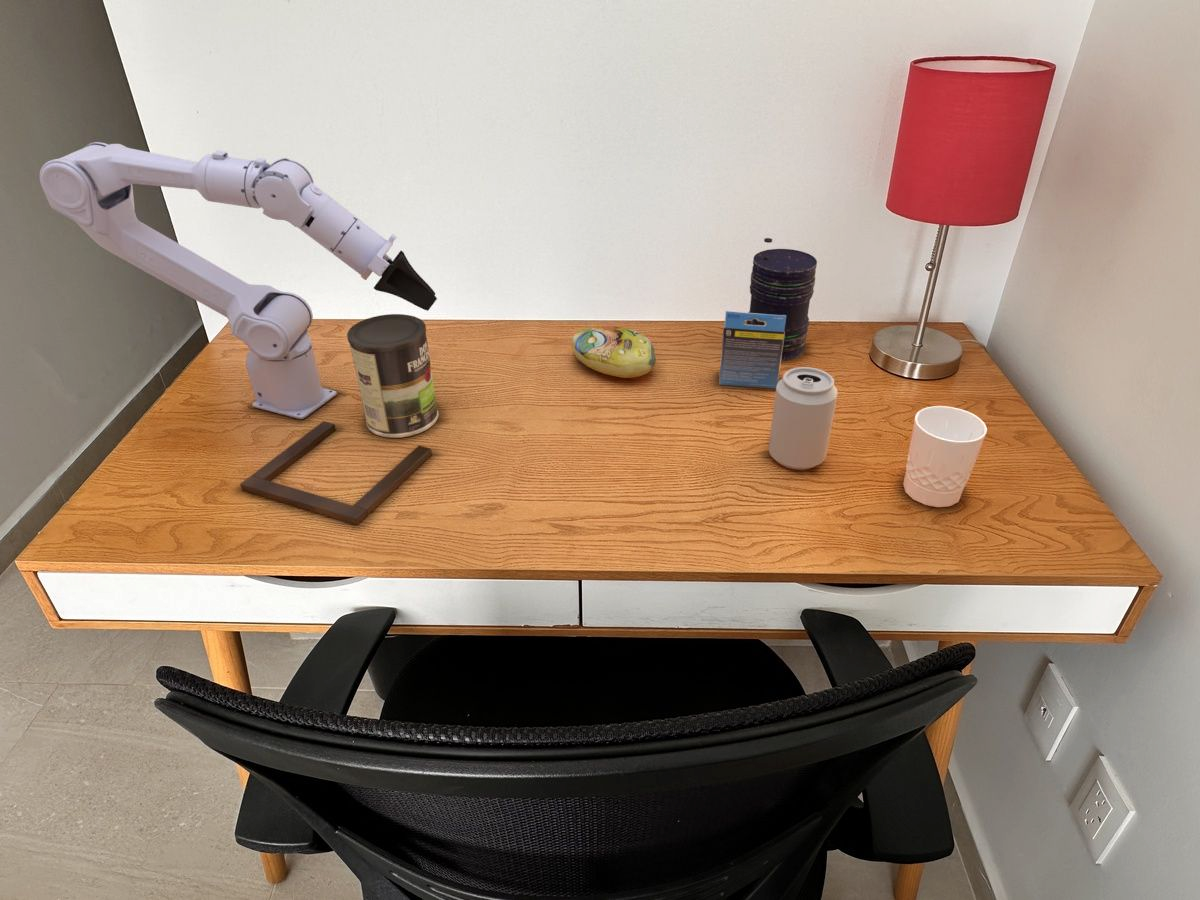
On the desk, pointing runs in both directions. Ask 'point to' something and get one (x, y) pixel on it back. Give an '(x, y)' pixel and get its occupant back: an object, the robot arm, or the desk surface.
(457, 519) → the desk surface
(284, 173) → the robot arm
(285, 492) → the walnut frame
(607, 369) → the cell model
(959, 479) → the white cup
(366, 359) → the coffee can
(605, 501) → the desk surface
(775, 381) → the label tape box
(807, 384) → the can
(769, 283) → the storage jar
